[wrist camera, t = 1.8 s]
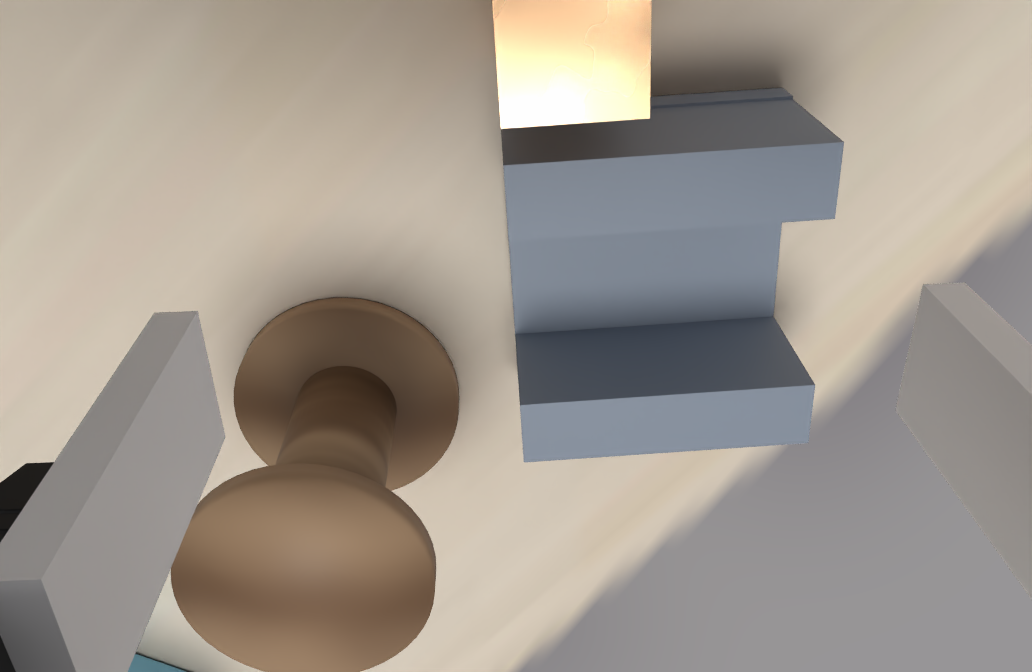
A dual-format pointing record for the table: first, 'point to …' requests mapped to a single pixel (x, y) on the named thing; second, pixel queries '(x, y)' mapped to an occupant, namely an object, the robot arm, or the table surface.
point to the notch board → (662, 274)
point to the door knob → (323, 494)
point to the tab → (572, 61)
